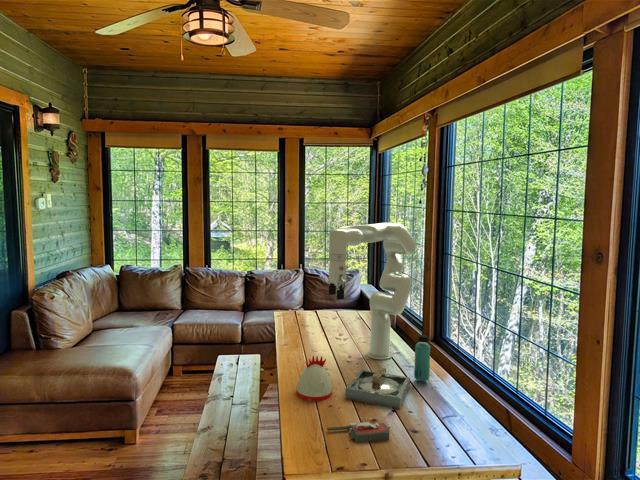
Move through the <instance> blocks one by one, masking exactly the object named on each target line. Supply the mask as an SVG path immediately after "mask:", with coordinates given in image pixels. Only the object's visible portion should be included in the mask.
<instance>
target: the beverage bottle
mask: <svg viewBox="0 0 640 480" xmlns="http://www.w3.org/2000/svg"><path fill="white" fill-rule="evenodd" d="M417 341H418V342H417V343H416V344H415V350H414V351H415V352H414V370H413V377H414V379H415V380H417V381H419V382H427V381H429V380H430V368H431V367H430V366H431V364H430V361H431V360H430V359H431V347H432V346H431V345H430V344H429V343H428V342H429V336H428V335H425V334H419V335H418V339H417Z"/></svg>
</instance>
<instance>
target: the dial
mask: <svg viewBox="0 0 640 480" xmlns="http://www.w3.org/2000/svg"><path fill="white" fill-rule="evenodd" d="M374 372H375V373H374V375H373V376H372V377H366V378H363V379H361V380H360V381H359V388H360V389H362V390H367V391H375V392H378V393H384V394H389V395H392V394H395V393H397V392H398V391H399V384H398V383H397V382H396V381H394V380H392V379H389V378H386V374H387V368H386V367H378V368H377V369H376V370H375V371H374Z"/></svg>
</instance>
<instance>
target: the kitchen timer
mask: <svg viewBox="0 0 640 480" xmlns="http://www.w3.org/2000/svg"><path fill="white" fill-rule="evenodd" d="M318 357H319V356H316V357H314V355H312V359H311V358H308V363H307V362H306V361H304V364H305V365H306V367H305V368H304V369H303V371H302V372H301V374H300V376H299V379H298V382H297V385H296V396H298V398H301V399H302V400H305V401H311V402H319V401H325V400H328V399H330V398H331V397H332V395H333V385H332V382H331V381H332V380H331V378H330V376H331V375H330V373H329V372H328V371H327V370H326V368H325V367H324V366H325V364H326V361H327V359H326V358H324V360H323V356H322V355H321V356H320V359H319V358H318Z"/></svg>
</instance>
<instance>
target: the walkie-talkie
mask: <svg viewBox="0 0 640 480" xmlns="http://www.w3.org/2000/svg"><path fill="white" fill-rule="evenodd" d="M326 430H327V432H331V431H342V430H343V431H345V430H347V431H348V434H350V437H351V440H354V442H355V443H365V442H366V443H367V442H376V441H387V440H389V439H390V428H389V427H388V425H387V424H386V423H385V422H377V421H376V422H373V423H370V422H369V421H365V422H364V421H363V422H350V423H349V425H342V426H341V425H340V426H331V427H329V426H328V427H327V428H326Z"/></svg>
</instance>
